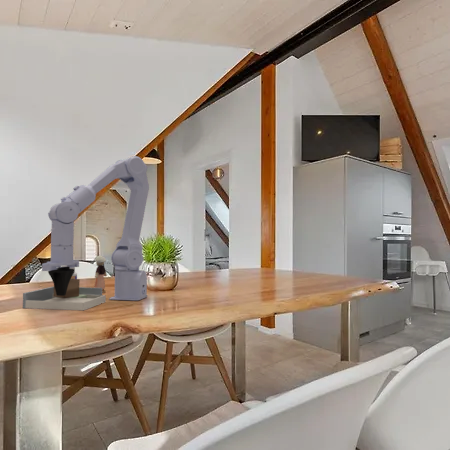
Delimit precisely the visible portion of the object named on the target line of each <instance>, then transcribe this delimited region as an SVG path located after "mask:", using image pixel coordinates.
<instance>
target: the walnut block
mask: <svg viewBox="0 0 450 450" xmlns="http://www.w3.org/2000/svg"><path fill="white" fill-rule="evenodd" d="M80 280H81V279H79V278H77V279H70V281H69V284H68V288H67V291H66V295H64V296H59V295H57V294H56V290H55V286H54V285H53V287H54V294H53V297H62V298H68V297H75V296H79V287H80Z"/></svg>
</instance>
